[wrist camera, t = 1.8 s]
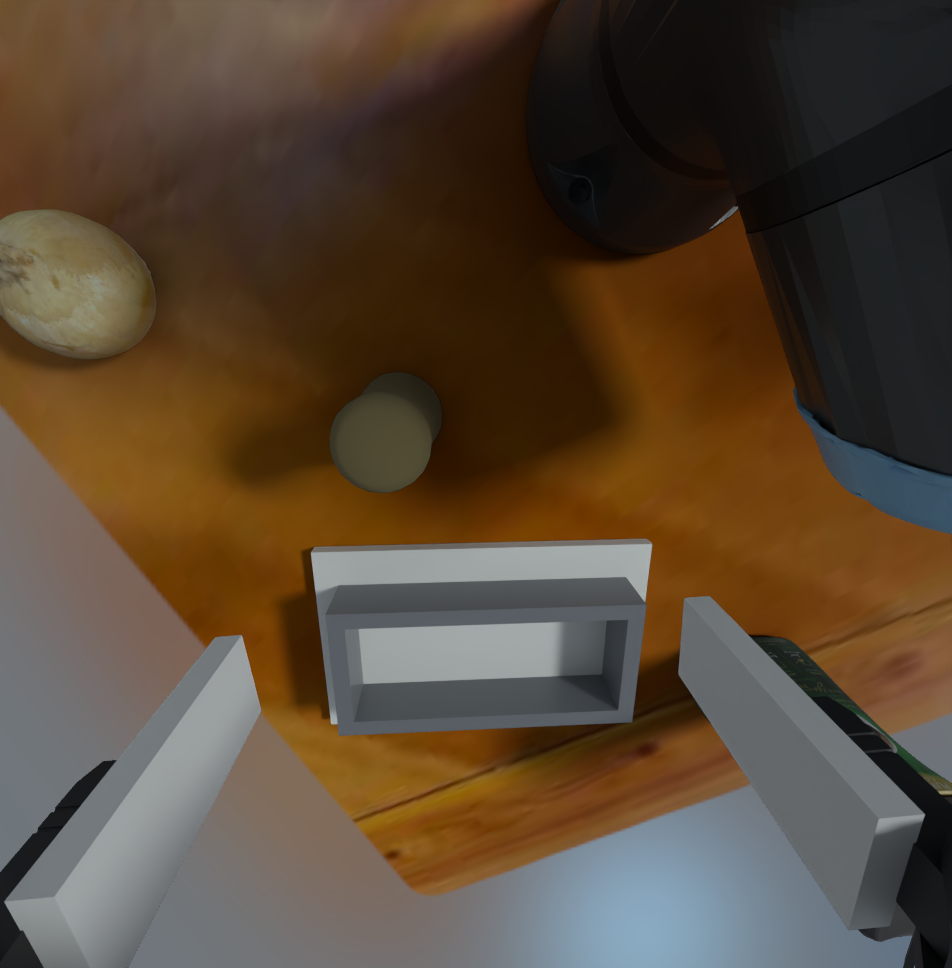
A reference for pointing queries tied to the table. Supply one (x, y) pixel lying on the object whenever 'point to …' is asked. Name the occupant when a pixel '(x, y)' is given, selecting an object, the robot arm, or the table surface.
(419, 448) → the cork
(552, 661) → the slot well
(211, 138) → the table surface
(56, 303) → the onion
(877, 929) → the coffee jar
